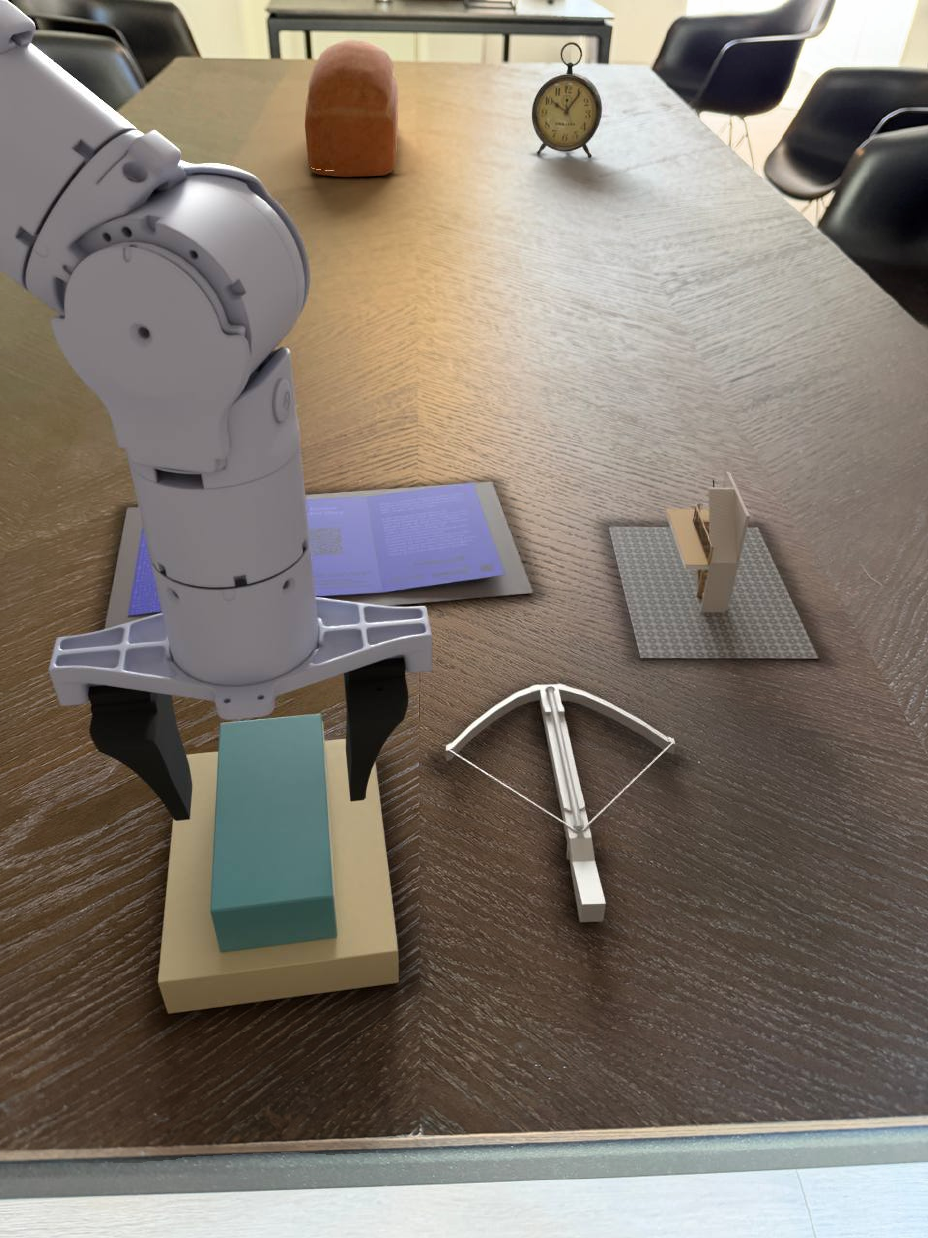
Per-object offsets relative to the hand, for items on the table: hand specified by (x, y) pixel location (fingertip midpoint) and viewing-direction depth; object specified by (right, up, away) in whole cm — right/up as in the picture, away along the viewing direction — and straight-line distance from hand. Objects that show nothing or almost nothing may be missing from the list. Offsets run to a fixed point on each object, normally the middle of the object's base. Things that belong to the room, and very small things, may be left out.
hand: (270, 793), depth 44 cm
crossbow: (+14, -2, +8) cm, 16 cm away
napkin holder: (+25, +10, +23) cm, 36 cm away
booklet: (-2, +13, +26) cm, 29 cm away
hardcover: (0, -5, +4) cm, 6 cm away
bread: (-9, +85, +116) cm, 144 cm away
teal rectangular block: (0, -3, +2) cm, 4 cm away
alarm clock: (+25, +84, +117) cm, 146 cm away
